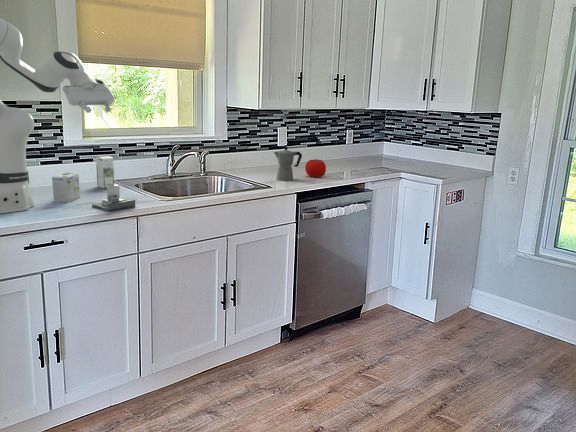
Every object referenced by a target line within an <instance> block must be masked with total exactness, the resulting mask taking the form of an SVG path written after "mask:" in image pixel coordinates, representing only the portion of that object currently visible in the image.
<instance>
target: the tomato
mask: <svg viewBox="0 0 576 432" xmlns="http://www.w3.org/2000/svg"><path fill="white" fill-rule="evenodd" d="M304 169H305V172H306V175H307V176H308V177H311V178H322V177H324V176H325V174H326V172H327V165H326V162H324V161H323V160H322V159H319V158H317V159H310V160H308V161H307V162H306V163H305V167H304Z"/></svg>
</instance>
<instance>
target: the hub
mask: <svg viewBox="0 0 576 432" xmlns="http://www.w3.org/2000/svg"><path fill="white" fill-rule="evenodd" d="M106 191H107V192H106V195H107V198H105V199H101V201H102V202H101V203H102V204H103V205H106V206H108V204H111V203H117V202H122V201H126V199H123V198H121V197H120V196H121V195H120V193H121V191H120V184H117V183H114V184H109V185H107V188H106Z"/></svg>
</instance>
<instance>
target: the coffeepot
mask: <svg viewBox="0 0 576 432" xmlns="http://www.w3.org/2000/svg"><path fill="white" fill-rule="evenodd" d="M273 154H274V156H276V158H277V162H278V169H277V174H276V179H277V180H278V181H282V182H290V181H293V180H294V175H293V173H294V172H293V168H292V165H293V163H294V157H295V156H298V158H297V160H296V164H294V165H293V166H294V167H299V164H300V162H301V159H302V158H303V154H302V153H301V151H292V150H291V151H290V150H288V146H284V149H283V150H278V151H274V152H273Z"/></svg>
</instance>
